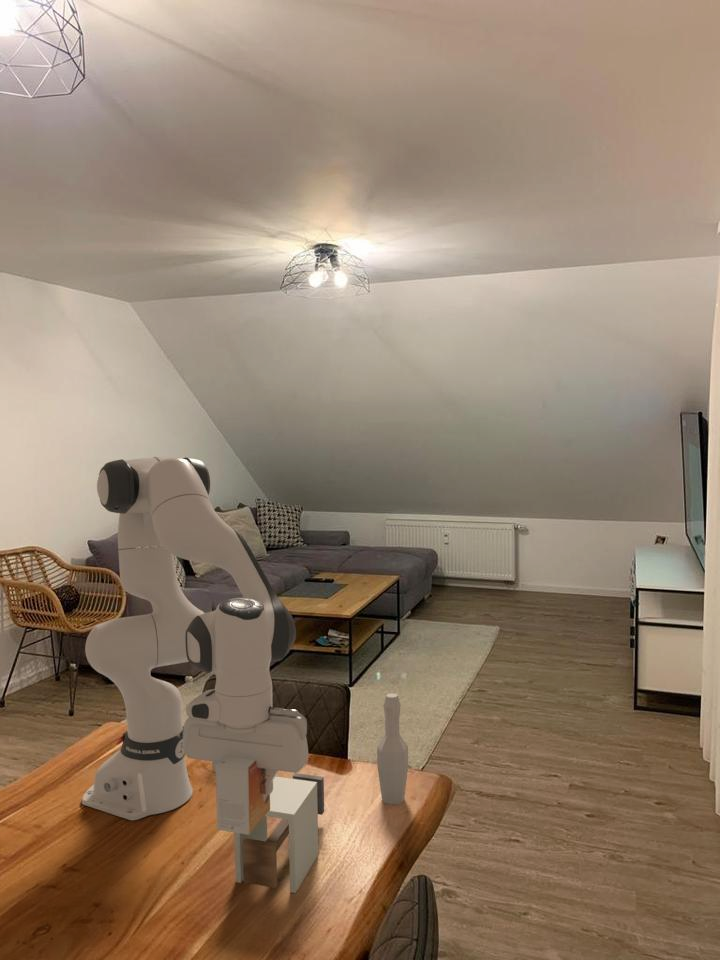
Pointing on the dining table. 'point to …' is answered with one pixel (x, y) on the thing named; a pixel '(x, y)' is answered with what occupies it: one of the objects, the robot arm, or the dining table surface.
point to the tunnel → (302, 812)
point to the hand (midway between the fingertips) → (246, 789)
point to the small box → (240, 795)
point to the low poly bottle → (392, 755)
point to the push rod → (272, 845)
